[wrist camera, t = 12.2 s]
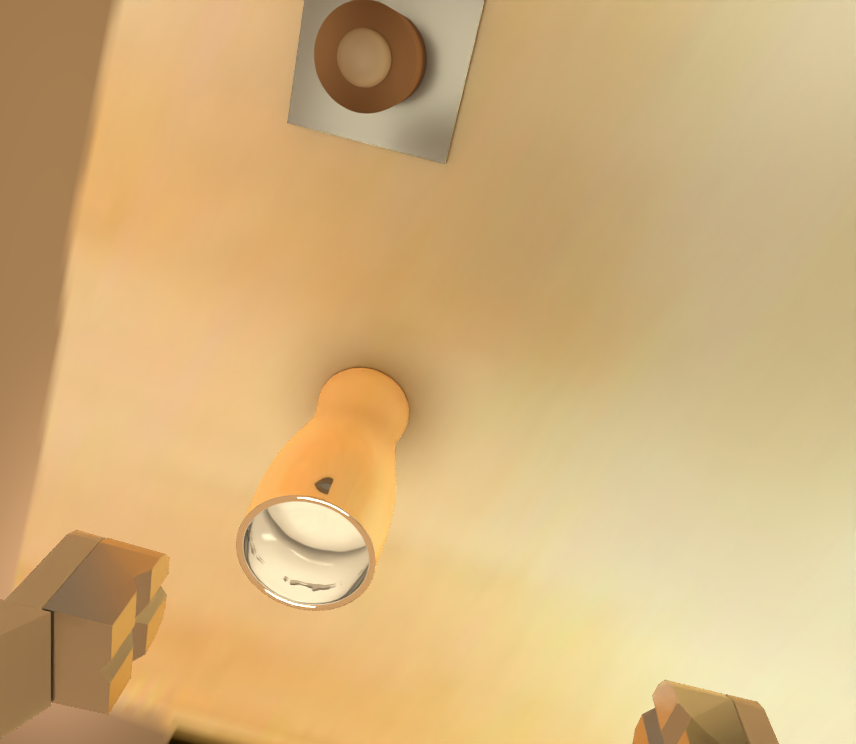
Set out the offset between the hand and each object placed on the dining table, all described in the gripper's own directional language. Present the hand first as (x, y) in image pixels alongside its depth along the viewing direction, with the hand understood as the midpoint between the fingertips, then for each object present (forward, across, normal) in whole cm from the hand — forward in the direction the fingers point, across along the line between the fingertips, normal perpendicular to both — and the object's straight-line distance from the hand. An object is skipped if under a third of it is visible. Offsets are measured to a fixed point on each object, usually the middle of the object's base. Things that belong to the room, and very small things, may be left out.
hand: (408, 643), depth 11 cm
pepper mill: (+30, +7, -8) cm, 32 cm away
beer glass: (+31, +4, +13) cm, 34 cm away
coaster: (+31, +7, -8) cm, 33 cm away
